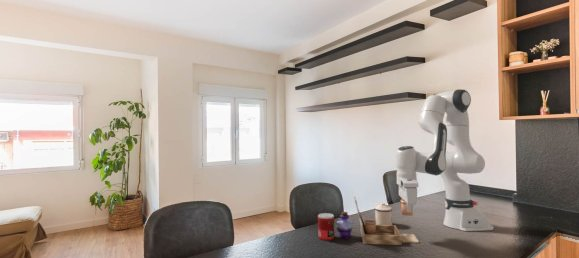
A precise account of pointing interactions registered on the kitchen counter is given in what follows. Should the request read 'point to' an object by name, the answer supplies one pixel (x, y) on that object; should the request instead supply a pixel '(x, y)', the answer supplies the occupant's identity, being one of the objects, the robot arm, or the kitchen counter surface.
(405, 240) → the cork mat
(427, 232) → the kitchen counter surface
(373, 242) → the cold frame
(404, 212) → the pot near
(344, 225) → the potion bottle
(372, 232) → the pot far
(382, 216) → the teacup with lid
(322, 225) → the canned food
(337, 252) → the kitchen counter surface
